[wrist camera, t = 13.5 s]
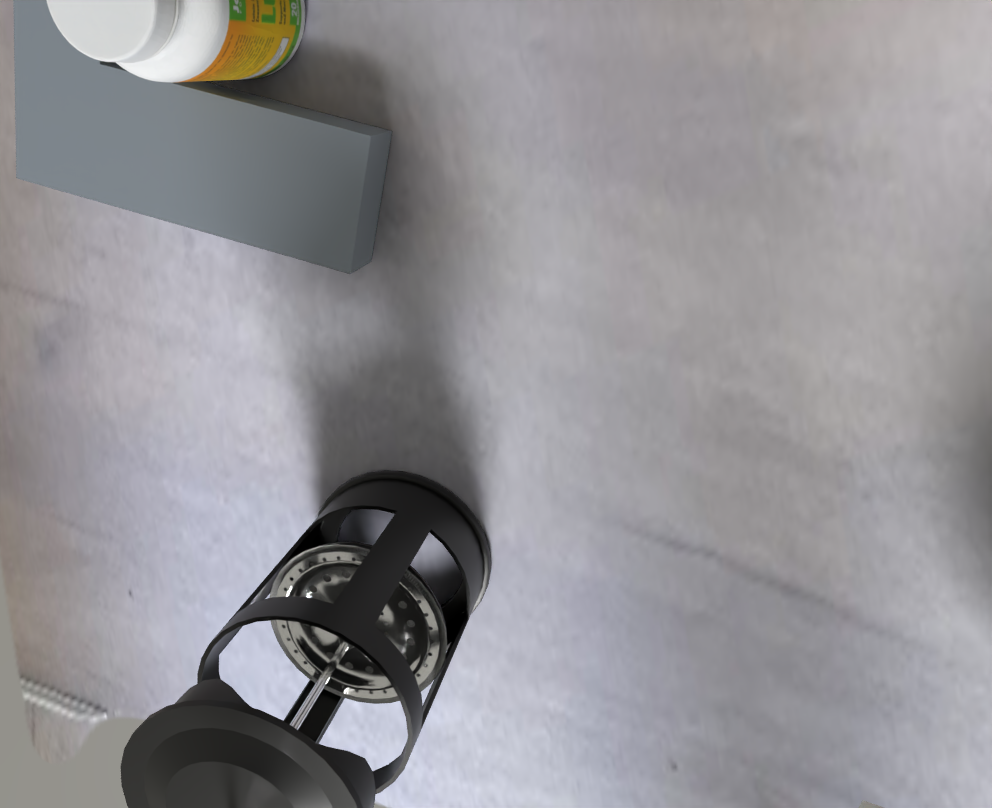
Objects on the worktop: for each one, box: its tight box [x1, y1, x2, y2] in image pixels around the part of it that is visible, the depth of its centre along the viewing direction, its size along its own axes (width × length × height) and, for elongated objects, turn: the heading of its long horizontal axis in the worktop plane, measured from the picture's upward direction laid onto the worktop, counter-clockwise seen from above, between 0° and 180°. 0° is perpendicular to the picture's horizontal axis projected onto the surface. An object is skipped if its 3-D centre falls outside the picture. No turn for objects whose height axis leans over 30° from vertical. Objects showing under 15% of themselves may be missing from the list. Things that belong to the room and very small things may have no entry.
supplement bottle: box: [46, 0, 305, 83], centre depth 31 cm, size 5×5×10 cm
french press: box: [121, 471, 491, 808], centre depth 34 cm, size 12×9×23 cm
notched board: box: [14, 0, 392, 274], centre depth 35 cm, size 16×18×2 cm
